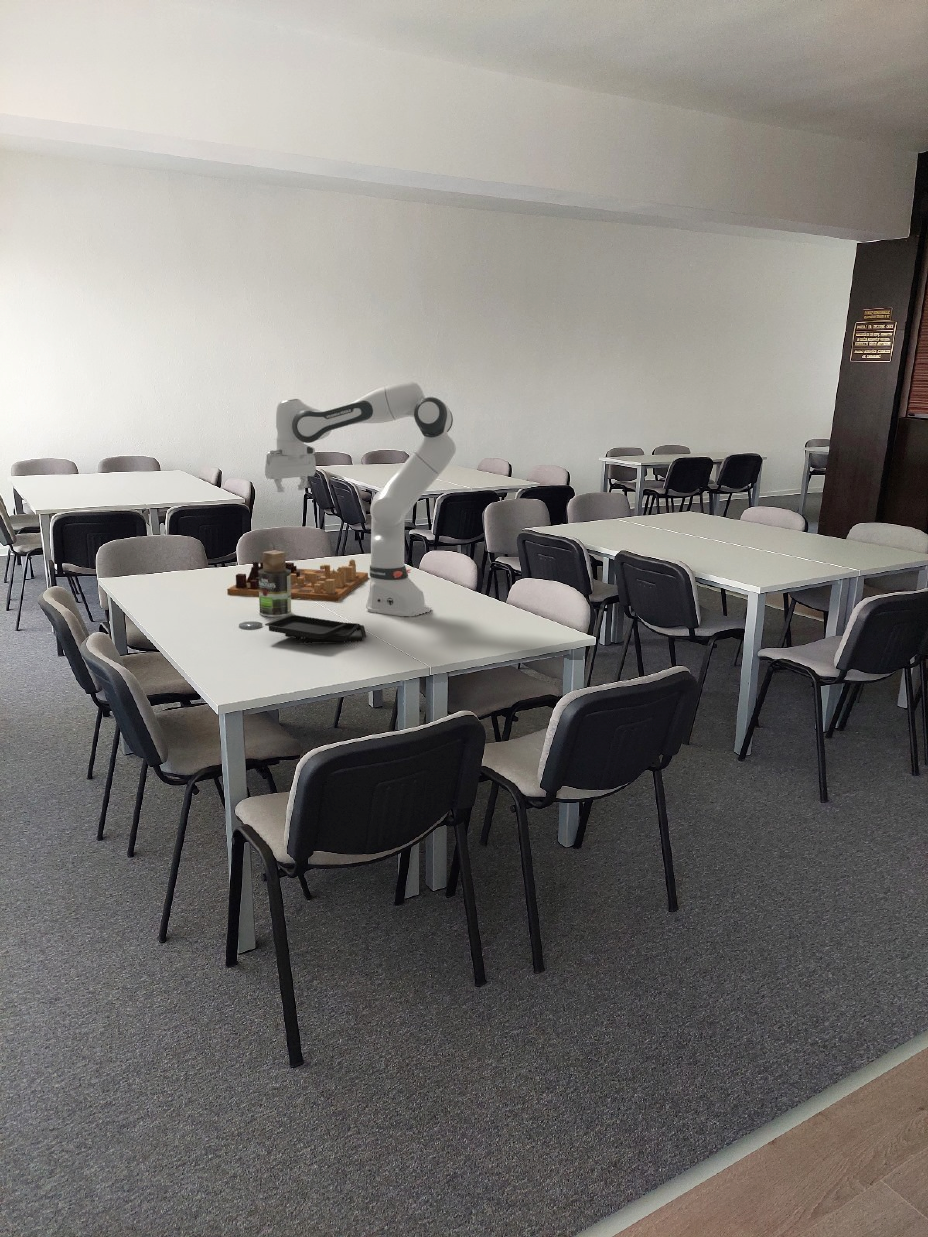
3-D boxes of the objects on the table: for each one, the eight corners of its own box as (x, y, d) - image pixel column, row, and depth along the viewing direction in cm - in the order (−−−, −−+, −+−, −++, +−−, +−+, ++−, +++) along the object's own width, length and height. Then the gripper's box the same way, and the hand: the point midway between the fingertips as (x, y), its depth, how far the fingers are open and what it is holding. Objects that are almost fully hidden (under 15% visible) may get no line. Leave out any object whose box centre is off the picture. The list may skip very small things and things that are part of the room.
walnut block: (285, 570, 287) (285, 552, 285) (274, 572, 283) (273, 554, 281) (274, 568, 289) (274, 550, 288) (263, 570, 285) (262, 552, 284)
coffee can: (278, 618, 283) (276, 575, 279) (252, 614, 287) (251, 571, 284) (298, 612, 292) (297, 569, 288) (273, 607, 296) (272, 566, 293)
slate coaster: (267, 627, 274) (267, 624, 274) (249, 631, 269) (249, 628, 269) (251, 623, 278) (251, 620, 278) (234, 627, 273) (233, 624, 272)
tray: (359, 626, 277) (359, 610, 276) (378, 647, 256) (378, 629, 255) (261, 633, 267) (260, 616, 266) (272, 655, 246) (271, 637, 245)
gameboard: (337, 603, 307) (337, 577, 305) (227, 596, 313) (226, 570, 311) (368, 579, 345) (367, 555, 343) (269, 573, 351) (268, 550, 349)
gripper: (273, 451, 286) (274, 494, 290) (318, 448, 303) (319, 489, 306) (259, 450, 290) (261, 492, 293) (305, 447, 306) (306, 487, 310)
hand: (291, 491), depth 300 cm, fingers open, 8 cm apart
